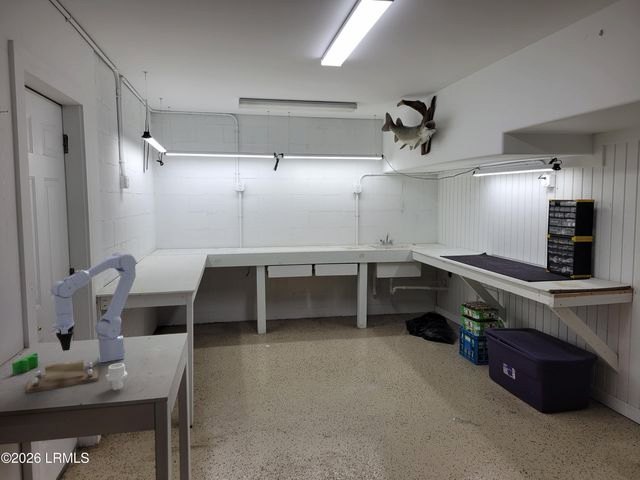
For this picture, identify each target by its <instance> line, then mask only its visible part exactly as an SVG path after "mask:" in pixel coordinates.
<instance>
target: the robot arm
mask: <svg viewBox="0 0 640 480" xmlns="http://www.w3.org/2000/svg"><path fill="white" fill-rule="evenodd" d="M136 266H137V261H136V258H135V257H134V256H133V255H132V254H130V253H122V252H121V253H120V252H114V253H112V254H110V255H107V257H105V258H104V259H103V260H101V261H99V262H97V263H96V264H95V265H93V266H91V267H90V268H88V269H87V270H85V269H77V270H76V271H74V273H73V274H71V275H70V276H68V277H66V276H65V277H64V278H63V280H58V281H56V282H54V283H53V285H52V287H51V289H50V292H51V294H52V295H53V296H54V310H55V311H54V312H55V321H56V323H55V324H53V325H52V329H53V328H55V329H56V328H57V330H58V331H59V332H56V333H55V335H56V338H57V339H58V340H59V343H60V346H61V349H62V351H63V352H65V351H70V350H71V349H70V348H71V342H72V337H73V335H74V331H73V330H74V329H75V321H74V307H73V295H74V293H75V291H78V290H79V289H80V288H82V287H84V286H86V285H87V284H89V283H90V282H91V280H92V278H94V277H96V276H97V275H100V274H101V273H103V272H105V271H107V270H109V269H115V270H116V271H117V272H118V275H119V276H120V279H119V280H118V283H117V286H116V288H115V291H114V293H113V295H112V298H111V301H110V303H109V306H108V308H107V311H106V312H105V313H104V314H103V315H101V317H100V319H99V320H98V322H96V324H95V327H94V331H95V333H96V334H97V335H98V351H99V352H98V353H99V355H98V363H107V362H111V361H119V360H125V345H124V335H120V333H121V331H122V329H121V328H122V327H121V326H122V318H121V315H122V313H123V310H124V307H125V305H126V302H127V299H128V296H129V294H130V292H131V289H132V286H133V285H134V282H135V279H136V276H137V275H136V274H137V273H136Z"/></svg>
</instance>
